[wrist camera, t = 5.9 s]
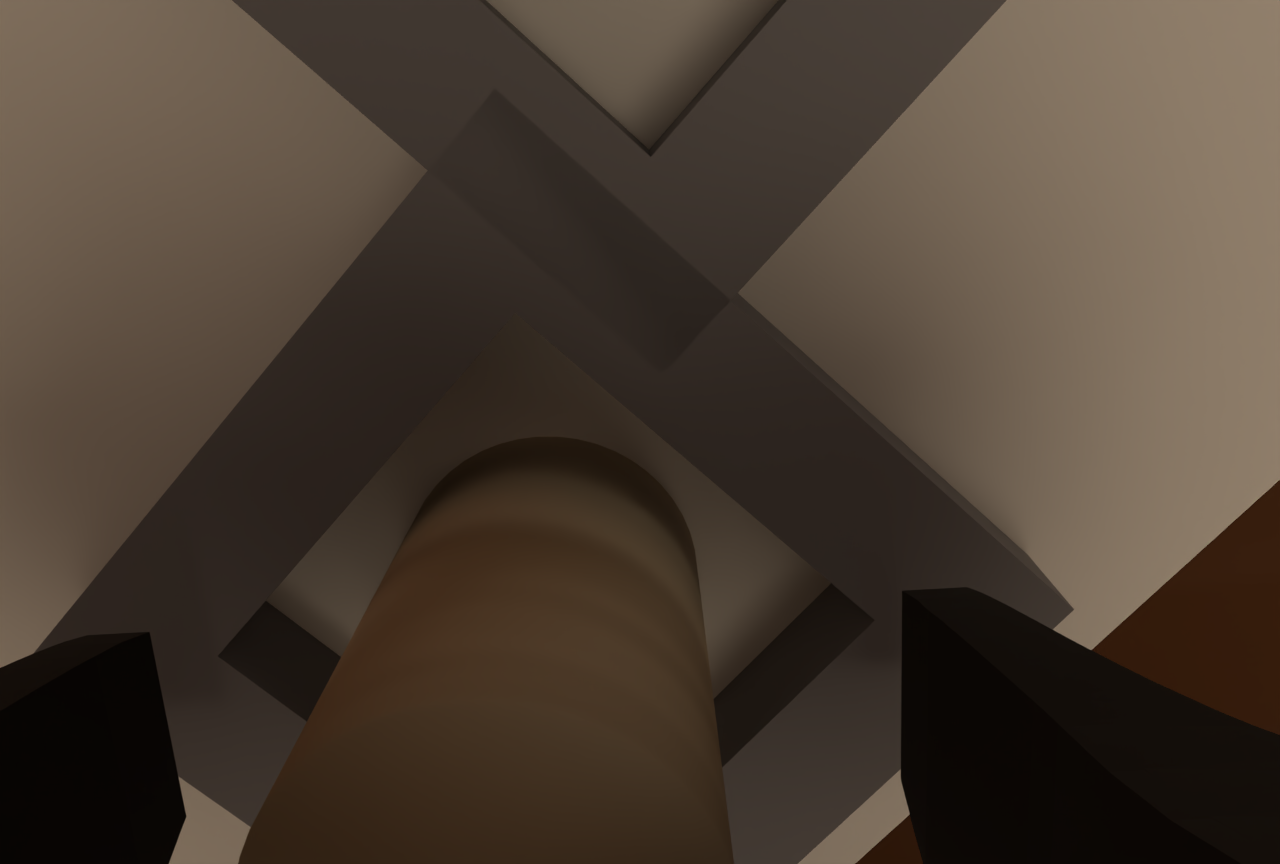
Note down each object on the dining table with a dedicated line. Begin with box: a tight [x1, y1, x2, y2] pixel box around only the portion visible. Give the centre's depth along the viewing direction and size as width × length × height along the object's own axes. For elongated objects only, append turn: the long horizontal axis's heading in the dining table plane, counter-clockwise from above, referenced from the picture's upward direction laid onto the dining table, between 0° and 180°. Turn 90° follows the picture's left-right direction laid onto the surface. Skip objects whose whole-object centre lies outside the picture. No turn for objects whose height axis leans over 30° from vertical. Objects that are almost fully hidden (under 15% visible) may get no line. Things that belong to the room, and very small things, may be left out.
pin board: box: [0, 0, 1280, 864], centre depth 10 cm, size 22×15×7 cm
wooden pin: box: [238, 437, 734, 864], centre depth 11 cm, size 4×4×6 cm
